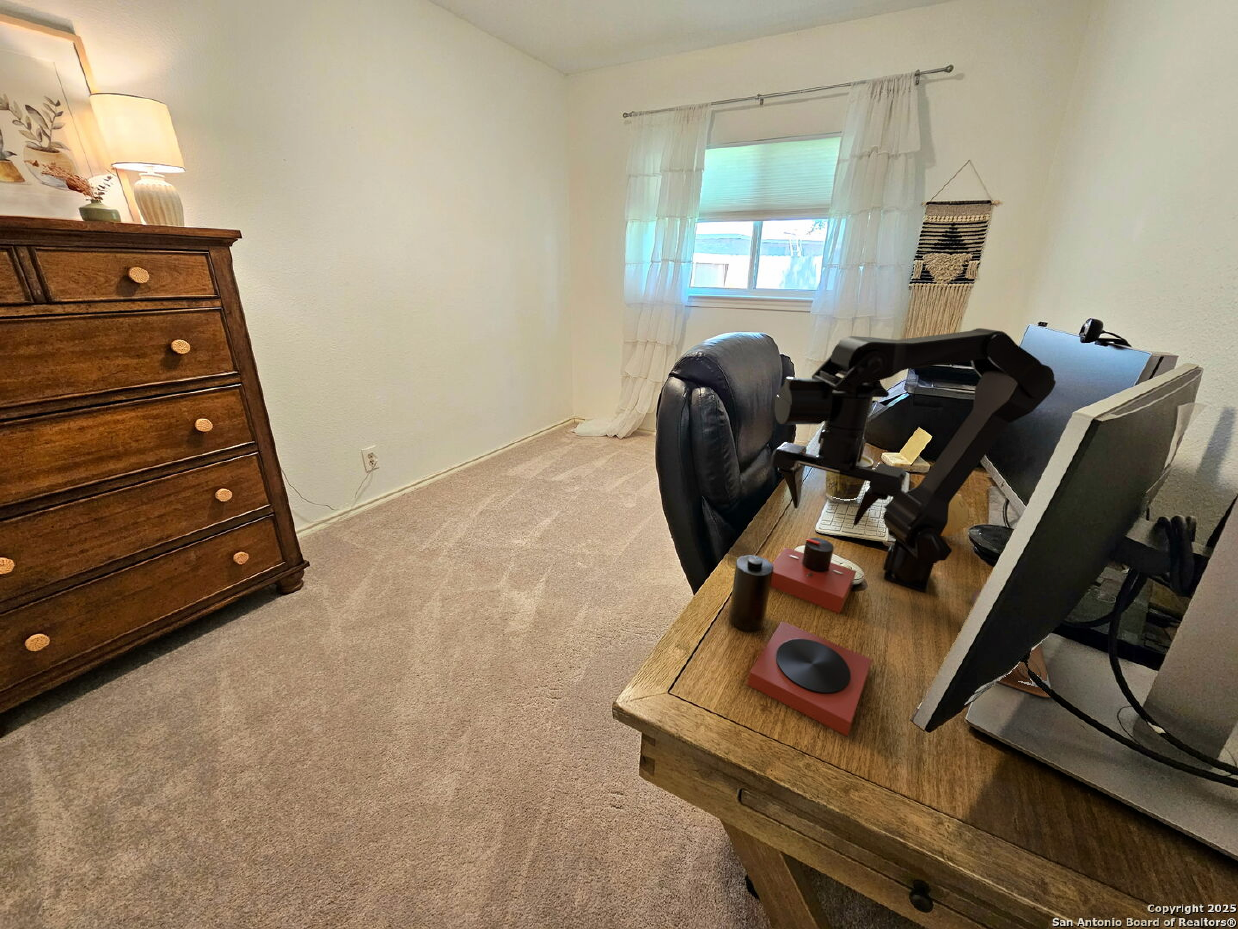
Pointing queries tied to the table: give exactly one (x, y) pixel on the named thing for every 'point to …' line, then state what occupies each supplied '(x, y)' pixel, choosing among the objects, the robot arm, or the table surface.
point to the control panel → (812, 581)
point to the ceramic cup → (846, 484)
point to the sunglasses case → (1025, 670)
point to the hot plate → (811, 676)
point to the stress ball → (956, 515)
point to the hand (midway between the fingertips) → (825, 515)
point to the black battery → (750, 593)
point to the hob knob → (817, 554)
